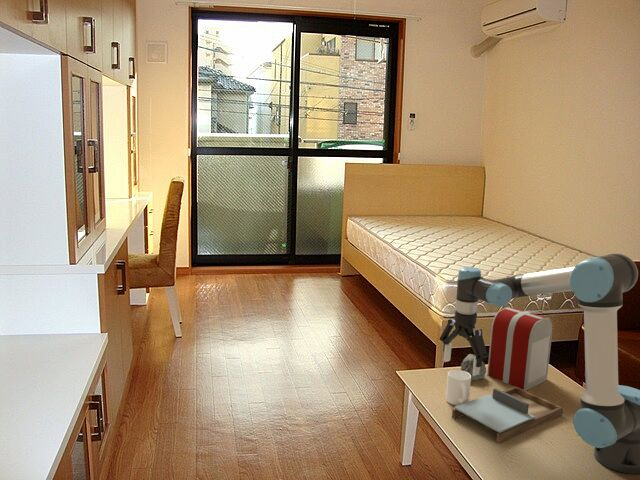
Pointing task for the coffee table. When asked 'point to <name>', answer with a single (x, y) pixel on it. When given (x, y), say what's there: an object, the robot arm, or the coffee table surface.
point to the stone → (468, 367)
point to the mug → (458, 387)
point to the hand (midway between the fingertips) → (460, 367)
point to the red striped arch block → (519, 348)
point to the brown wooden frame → (537, 408)
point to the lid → (497, 410)
